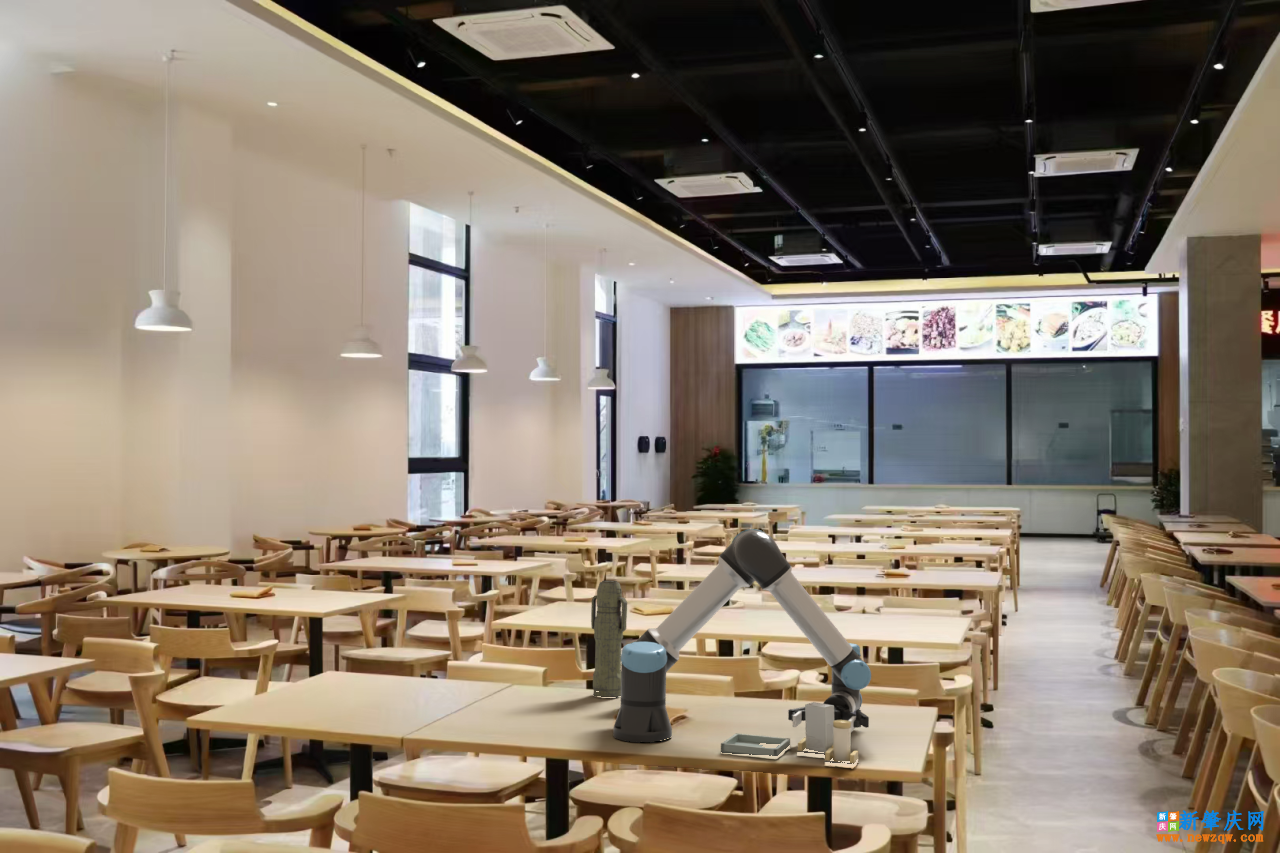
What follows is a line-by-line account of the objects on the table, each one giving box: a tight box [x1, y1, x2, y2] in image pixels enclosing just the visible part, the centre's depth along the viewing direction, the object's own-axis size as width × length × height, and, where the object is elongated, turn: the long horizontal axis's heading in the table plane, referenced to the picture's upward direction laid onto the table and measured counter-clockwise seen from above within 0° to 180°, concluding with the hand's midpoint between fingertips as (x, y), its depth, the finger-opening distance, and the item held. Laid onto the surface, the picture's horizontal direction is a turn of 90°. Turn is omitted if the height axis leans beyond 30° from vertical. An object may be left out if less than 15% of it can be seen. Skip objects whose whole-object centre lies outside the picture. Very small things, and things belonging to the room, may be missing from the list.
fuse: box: [833, 720, 852, 762], centre depth 271 cm, size 4×4×10 cm
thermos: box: [590, 580, 628, 697], centre depth 353 cm, size 9×12×35 cm
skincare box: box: [804, 701, 834, 753], centre depth 282 cm, size 6×4×12 cm
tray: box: [720, 733, 791, 756], centre depth 283 cm, size 14×13×2 cm
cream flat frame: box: [796, 736, 859, 764], centre depth 277 cm, size 15×16×3 cm
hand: (821, 724), depth 281 cm, fingers open, 13 cm apart
